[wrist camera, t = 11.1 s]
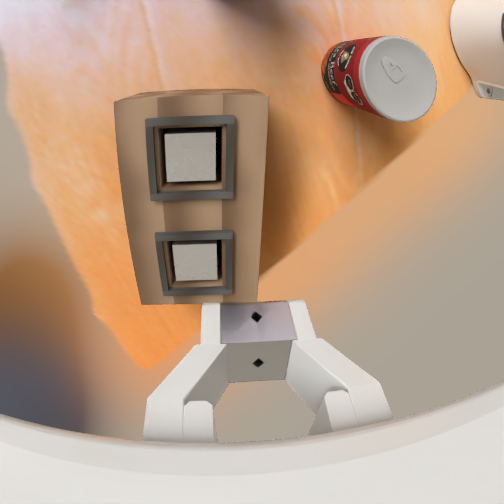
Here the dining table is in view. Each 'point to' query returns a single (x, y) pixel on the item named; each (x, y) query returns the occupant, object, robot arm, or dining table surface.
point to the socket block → (193, 192)
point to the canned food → (381, 77)
